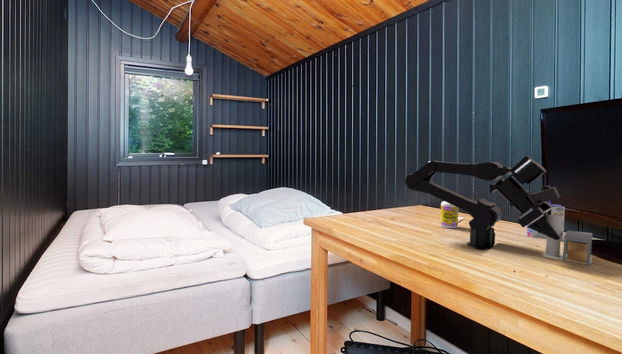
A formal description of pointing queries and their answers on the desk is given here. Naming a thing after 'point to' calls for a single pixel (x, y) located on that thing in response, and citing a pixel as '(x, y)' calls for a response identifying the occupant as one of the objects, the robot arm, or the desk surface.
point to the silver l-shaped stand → (553, 244)
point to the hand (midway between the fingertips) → (559, 237)
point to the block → (577, 251)
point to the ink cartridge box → (555, 211)
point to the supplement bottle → (449, 215)
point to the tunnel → (578, 238)
